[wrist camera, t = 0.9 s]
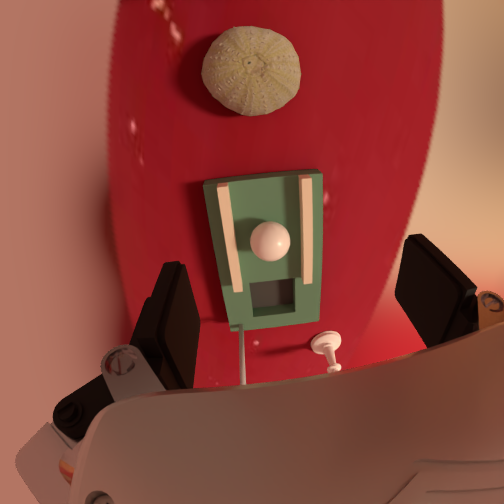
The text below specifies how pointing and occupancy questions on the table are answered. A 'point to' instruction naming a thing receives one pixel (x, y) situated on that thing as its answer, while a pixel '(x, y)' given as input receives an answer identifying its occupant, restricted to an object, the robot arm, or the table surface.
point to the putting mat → (255, 269)
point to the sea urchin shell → (251, 70)
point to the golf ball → (270, 241)
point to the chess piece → (327, 347)
